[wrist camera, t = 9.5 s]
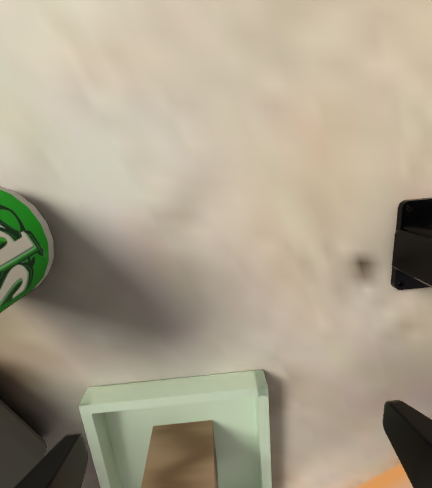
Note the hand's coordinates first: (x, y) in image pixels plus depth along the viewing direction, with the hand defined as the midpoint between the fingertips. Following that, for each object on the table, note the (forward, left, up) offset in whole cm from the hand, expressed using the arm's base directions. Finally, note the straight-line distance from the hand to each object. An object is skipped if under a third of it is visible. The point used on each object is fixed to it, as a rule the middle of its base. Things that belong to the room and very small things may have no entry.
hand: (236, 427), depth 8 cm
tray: (+4, +16, -12) cm, 20 cm away
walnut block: (+4, +15, -12) cm, 20 cm away
